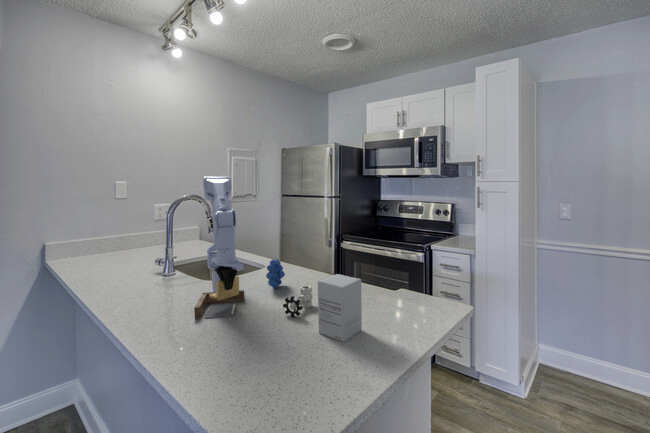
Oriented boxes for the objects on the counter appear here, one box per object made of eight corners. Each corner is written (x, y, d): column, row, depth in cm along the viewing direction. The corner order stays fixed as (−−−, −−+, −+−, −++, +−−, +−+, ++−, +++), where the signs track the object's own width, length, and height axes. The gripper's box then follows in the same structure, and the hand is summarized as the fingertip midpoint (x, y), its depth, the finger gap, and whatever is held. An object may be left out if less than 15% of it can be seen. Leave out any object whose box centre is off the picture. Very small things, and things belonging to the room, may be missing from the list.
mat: (210, 305, 112) (210, 304, 112) (237, 303, 113) (237, 302, 113) (204, 318, 101) (204, 317, 101) (234, 316, 102) (234, 315, 102)
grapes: (278, 294, 122) (278, 262, 121) (262, 292, 124) (261, 261, 123) (291, 284, 133) (290, 255, 132) (276, 283, 135) (275, 254, 134)
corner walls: (203, 302, 115) (203, 292, 114) (244, 299, 117) (244, 290, 117) (194, 318, 101) (194, 307, 101) (241, 315, 103) (241, 304, 103)
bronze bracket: (218, 300, 103) (218, 282, 103) (209, 297, 107) (208, 279, 106) (239, 294, 110) (238, 276, 109) (230, 291, 113) (229, 274, 112)
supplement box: (337, 322, 98) (336, 273, 96) (362, 330, 92) (362, 278, 91) (317, 333, 91) (316, 280, 89) (343, 342, 85) (343, 286, 84)
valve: (300, 302, 114) (282, 315, 103) (300, 284, 113) (282, 295, 102) (317, 305, 111) (301, 319, 100) (317, 286, 110) (301, 298, 100)
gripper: (250, 248, 104) (252, 289, 105) (222, 243, 113) (224, 281, 114) (232, 252, 98) (234, 296, 100) (204, 246, 107) (206, 287, 109)
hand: (227, 288), depth 107 cm, fingers closed on bronze bracket
